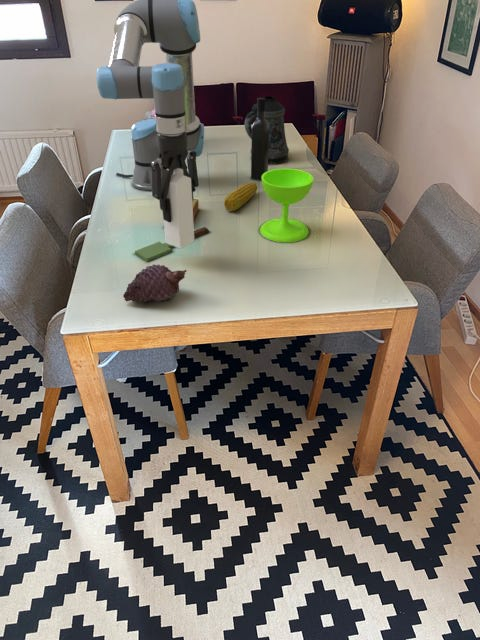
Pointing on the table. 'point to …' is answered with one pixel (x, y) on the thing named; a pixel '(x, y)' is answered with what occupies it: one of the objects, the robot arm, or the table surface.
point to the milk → (180, 211)
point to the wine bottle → (259, 142)
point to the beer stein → (272, 129)
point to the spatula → (162, 247)
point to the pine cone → (154, 284)
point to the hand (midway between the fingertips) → (178, 216)
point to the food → (240, 196)
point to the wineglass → (285, 203)
